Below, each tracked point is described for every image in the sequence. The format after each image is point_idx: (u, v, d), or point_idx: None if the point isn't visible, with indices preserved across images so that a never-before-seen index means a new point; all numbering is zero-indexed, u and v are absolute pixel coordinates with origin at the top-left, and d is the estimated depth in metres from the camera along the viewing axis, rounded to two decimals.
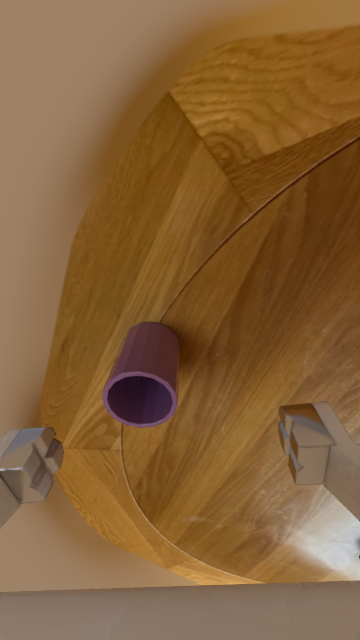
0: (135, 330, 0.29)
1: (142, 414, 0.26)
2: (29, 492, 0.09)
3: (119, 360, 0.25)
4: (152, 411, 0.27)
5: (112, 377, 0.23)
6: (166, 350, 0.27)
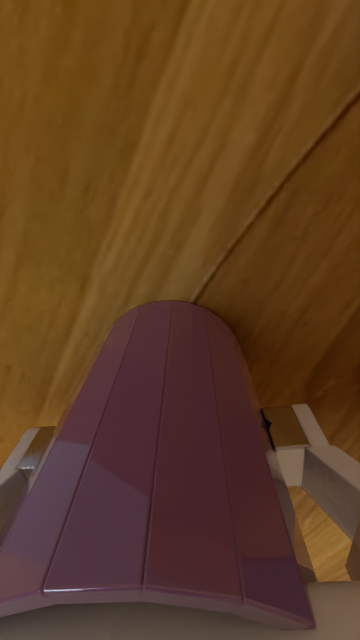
0: (129, 324, 0.10)
1: None
2: None
3: (58, 444, 0.06)
4: None
5: None
6: (237, 391, 0.07)
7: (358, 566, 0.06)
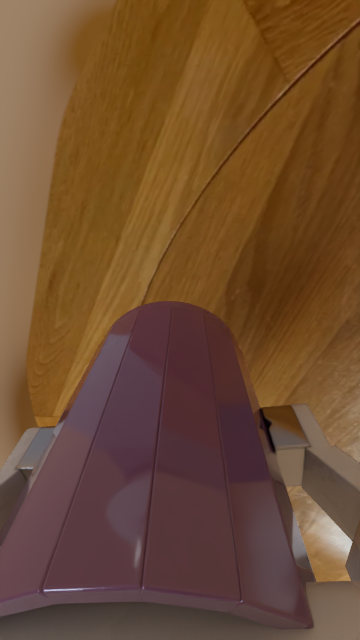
0: (129, 324, 0.10)
1: None
2: None
3: (57, 444, 0.06)
4: None
5: None
6: (236, 391, 0.08)
7: (358, 566, 0.06)
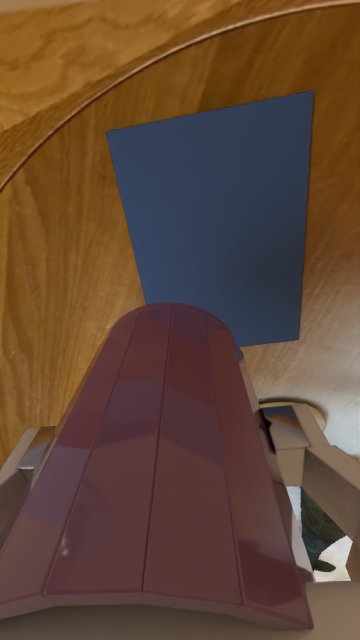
0: (129, 325, 0.10)
1: None
2: None
3: (58, 445, 0.06)
4: None
5: None
6: (237, 393, 0.08)
7: (358, 566, 0.06)
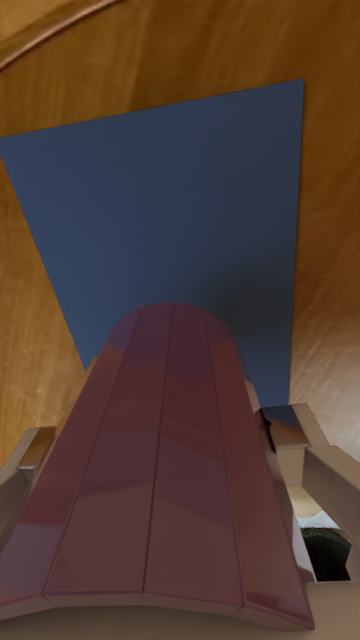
0: (129, 325, 0.10)
1: None
2: None
3: (59, 446, 0.06)
4: None
5: None
6: (237, 393, 0.08)
7: (358, 566, 0.06)
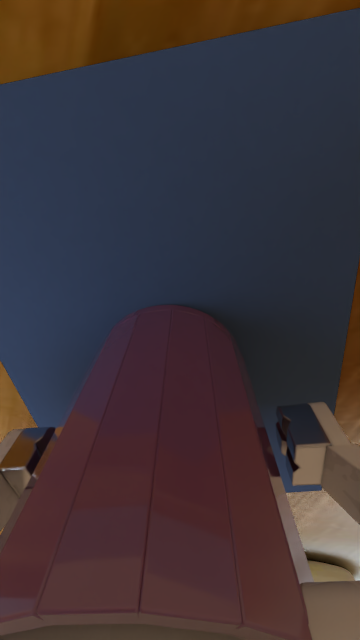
0: (128, 328, 0.10)
1: None
2: None
3: (55, 453, 0.06)
4: None
5: None
6: (237, 398, 0.07)
7: None
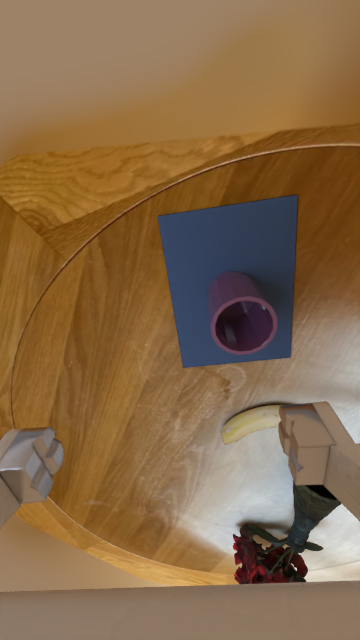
0: (224, 276, 0.33)
1: (237, 345, 0.30)
2: (29, 492, 0.09)
3: (222, 294, 0.29)
4: (246, 343, 0.30)
5: (223, 303, 0.27)
6: (258, 289, 0.30)
7: None
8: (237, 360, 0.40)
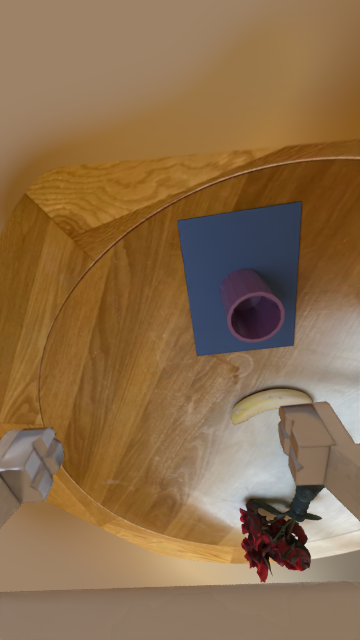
0: (236, 274, 0.37)
1: (249, 334, 0.34)
2: (29, 492, 0.09)
3: (236, 289, 0.33)
4: (256, 332, 0.34)
5: (238, 298, 0.31)
6: (267, 285, 0.34)
7: None
8: (246, 349, 0.44)
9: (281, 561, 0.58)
